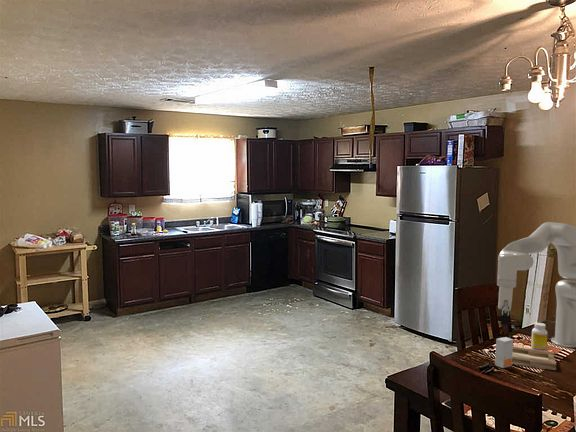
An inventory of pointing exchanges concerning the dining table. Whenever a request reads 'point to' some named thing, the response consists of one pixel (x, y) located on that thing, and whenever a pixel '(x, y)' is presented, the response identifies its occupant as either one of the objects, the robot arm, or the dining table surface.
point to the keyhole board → (533, 358)
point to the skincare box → (504, 352)
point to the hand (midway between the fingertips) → (504, 321)
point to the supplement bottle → (539, 337)
